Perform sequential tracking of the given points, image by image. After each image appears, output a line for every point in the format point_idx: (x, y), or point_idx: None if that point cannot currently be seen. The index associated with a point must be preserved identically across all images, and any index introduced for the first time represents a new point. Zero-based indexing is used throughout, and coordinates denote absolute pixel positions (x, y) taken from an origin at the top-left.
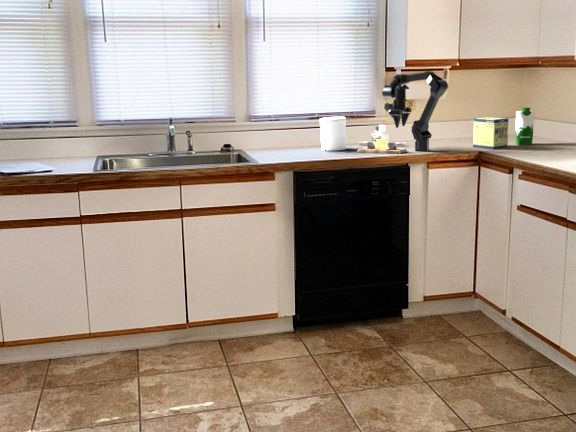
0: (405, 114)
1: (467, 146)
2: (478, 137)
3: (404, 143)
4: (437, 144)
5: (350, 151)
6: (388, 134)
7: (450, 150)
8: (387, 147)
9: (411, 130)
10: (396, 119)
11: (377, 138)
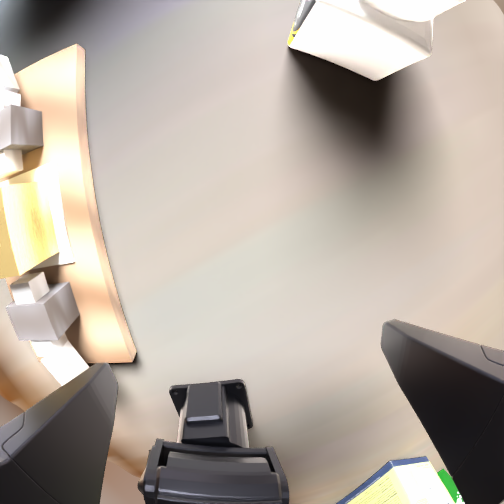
0: (496, 481)
1: (402, 444)
2: (384, 499)
3: None
4: (467, 330)
5: (22, 32)
6: (417, 53)
7: None
8: (51, 254)
9: (158, 474)
10: (33, 473)
11: None
